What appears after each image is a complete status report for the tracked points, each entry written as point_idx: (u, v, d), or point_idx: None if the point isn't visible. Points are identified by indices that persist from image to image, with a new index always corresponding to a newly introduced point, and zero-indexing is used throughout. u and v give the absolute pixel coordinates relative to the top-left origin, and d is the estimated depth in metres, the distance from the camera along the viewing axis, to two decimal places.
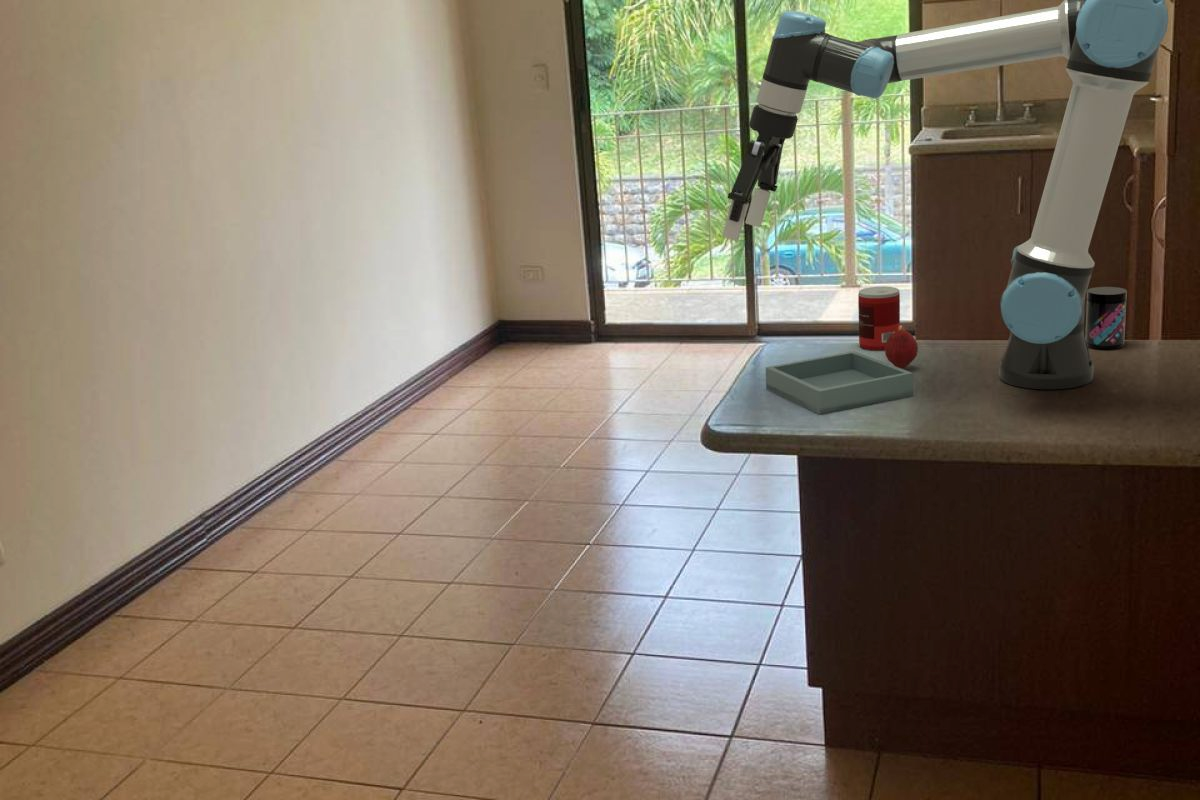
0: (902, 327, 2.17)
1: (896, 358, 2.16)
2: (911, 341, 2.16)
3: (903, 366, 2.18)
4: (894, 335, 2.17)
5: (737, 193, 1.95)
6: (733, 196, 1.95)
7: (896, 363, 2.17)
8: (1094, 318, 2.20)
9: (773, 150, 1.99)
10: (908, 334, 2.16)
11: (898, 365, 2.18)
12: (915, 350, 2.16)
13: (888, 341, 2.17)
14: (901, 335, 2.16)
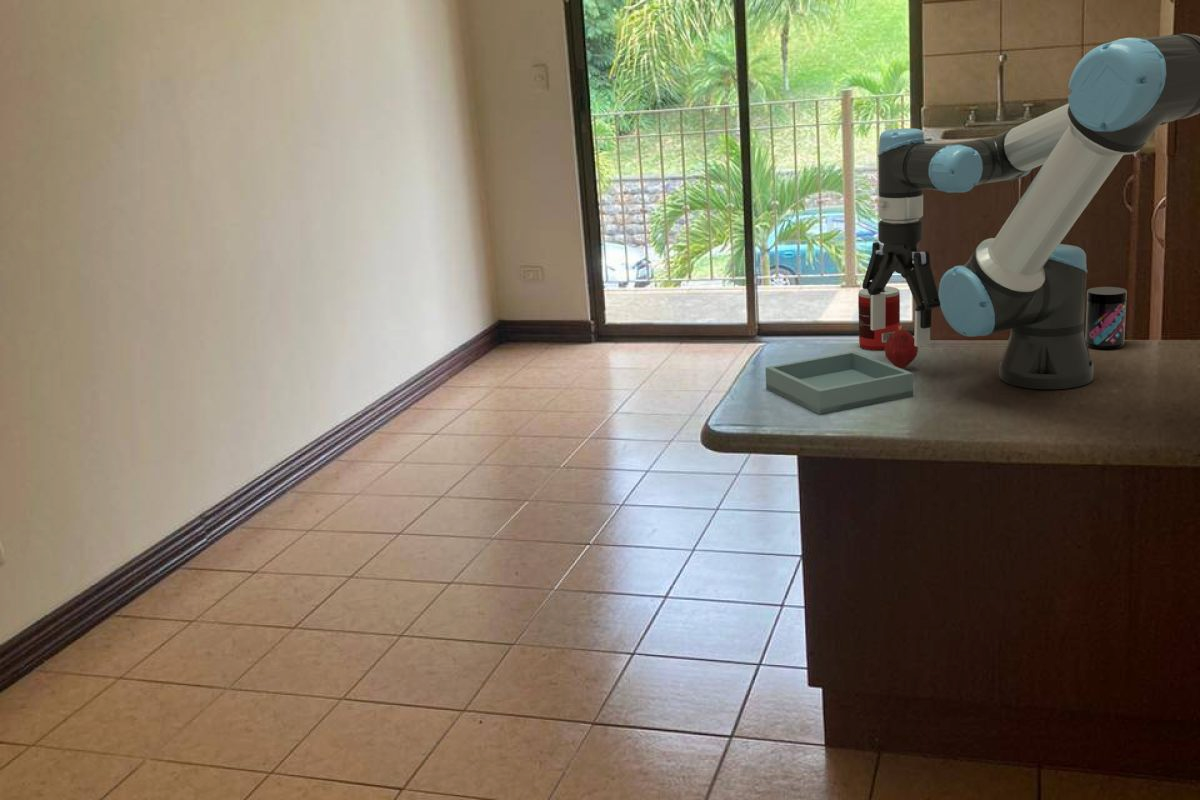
0: (902, 327, 2.17)
1: (896, 358, 2.16)
2: (911, 340, 2.16)
3: (903, 366, 2.18)
4: (894, 335, 2.17)
5: (932, 302, 2.07)
6: (931, 306, 2.06)
7: (896, 363, 2.17)
8: (1094, 318, 2.20)
9: None
10: (908, 334, 2.16)
11: (898, 365, 2.18)
12: (915, 350, 2.16)
13: (888, 341, 2.17)
14: (901, 335, 2.16)
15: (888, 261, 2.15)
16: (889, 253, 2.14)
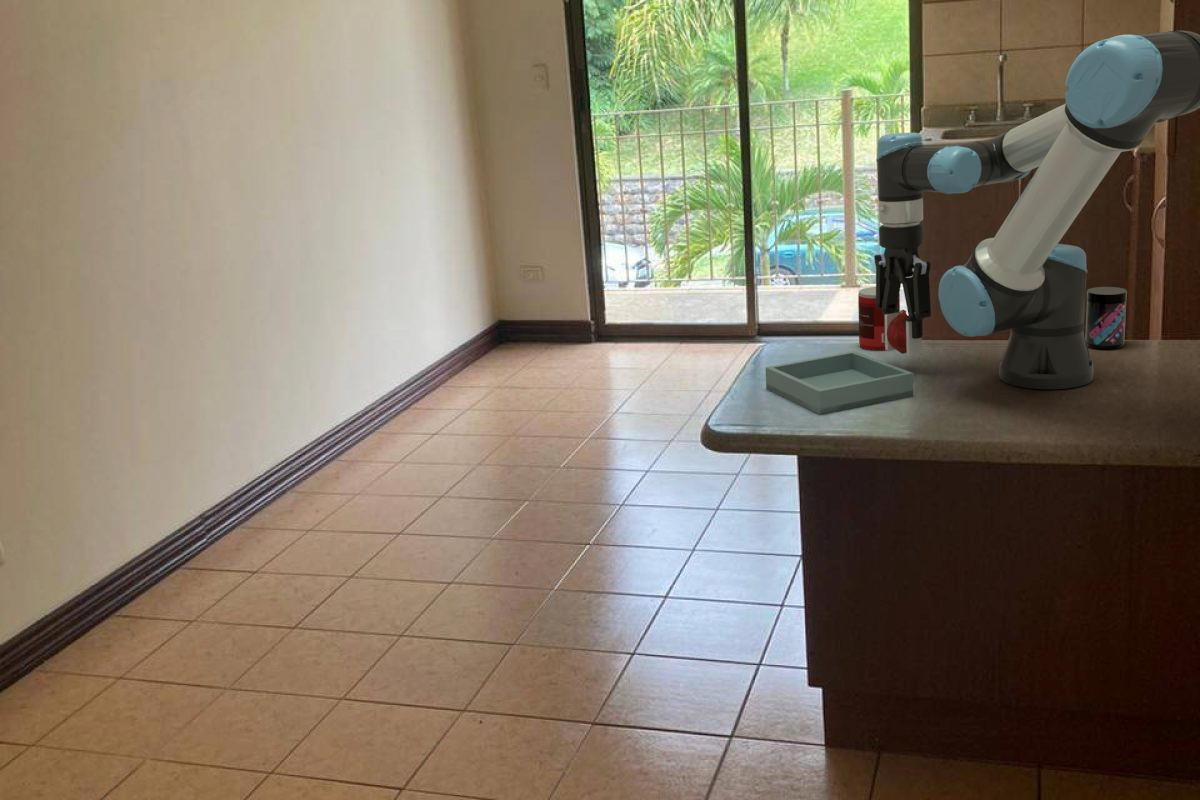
0: (904, 311, 2.16)
1: (898, 343, 2.15)
2: None
3: (905, 351, 2.17)
4: (896, 319, 2.16)
5: (923, 312, 2.10)
6: (922, 316, 2.10)
7: (898, 347, 2.16)
8: (1094, 318, 2.20)
9: None
10: None
11: (900, 350, 2.16)
12: None
13: (890, 325, 2.16)
14: (903, 319, 2.15)
15: (891, 266, 2.14)
16: (890, 257, 2.14)
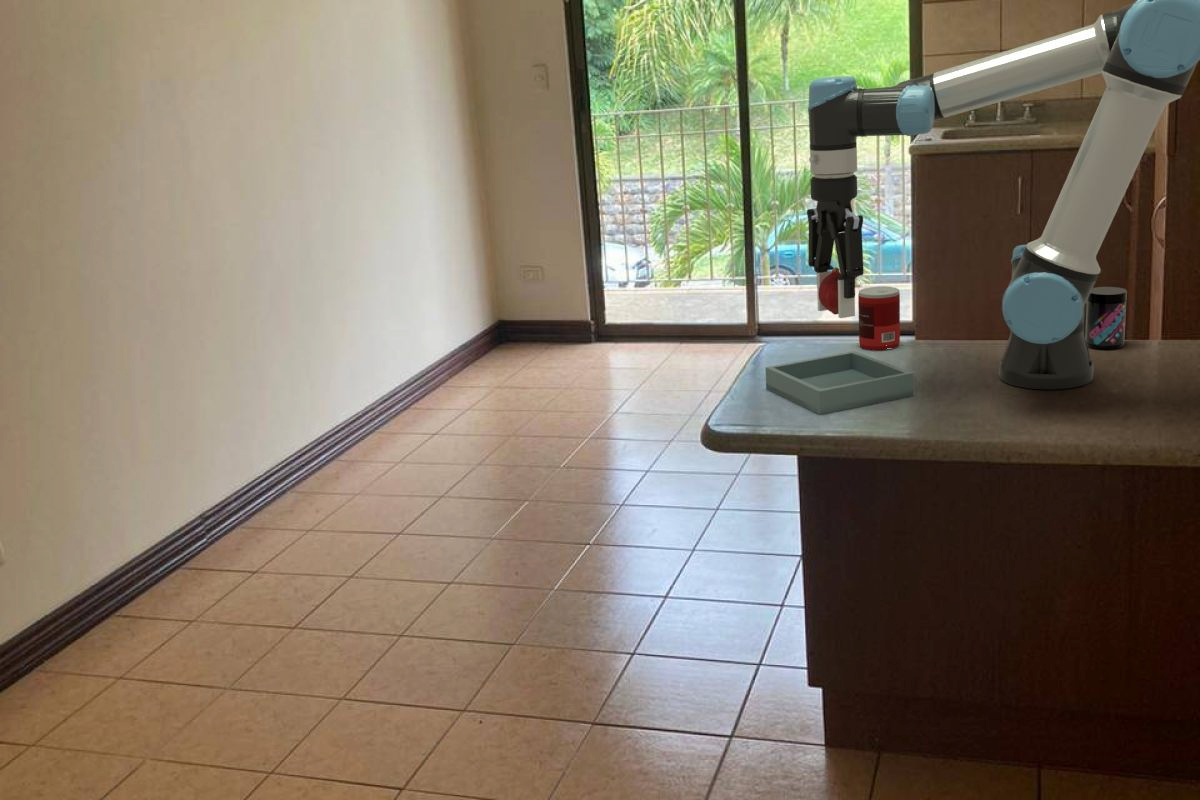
0: (836, 269, 2.02)
1: (829, 303, 2.01)
2: None
3: None
4: (828, 277, 2.02)
5: (855, 270, 1.96)
6: (853, 274, 1.96)
7: (830, 308, 2.02)
8: (1094, 318, 2.20)
9: None
10: None
11: (832, 310, 2.03)
12: None
13: (821, 284, 2.02)
14: (835, 277, 2.01)
15: (823, 220, 2.00)
16: (822, 211, 2.00)
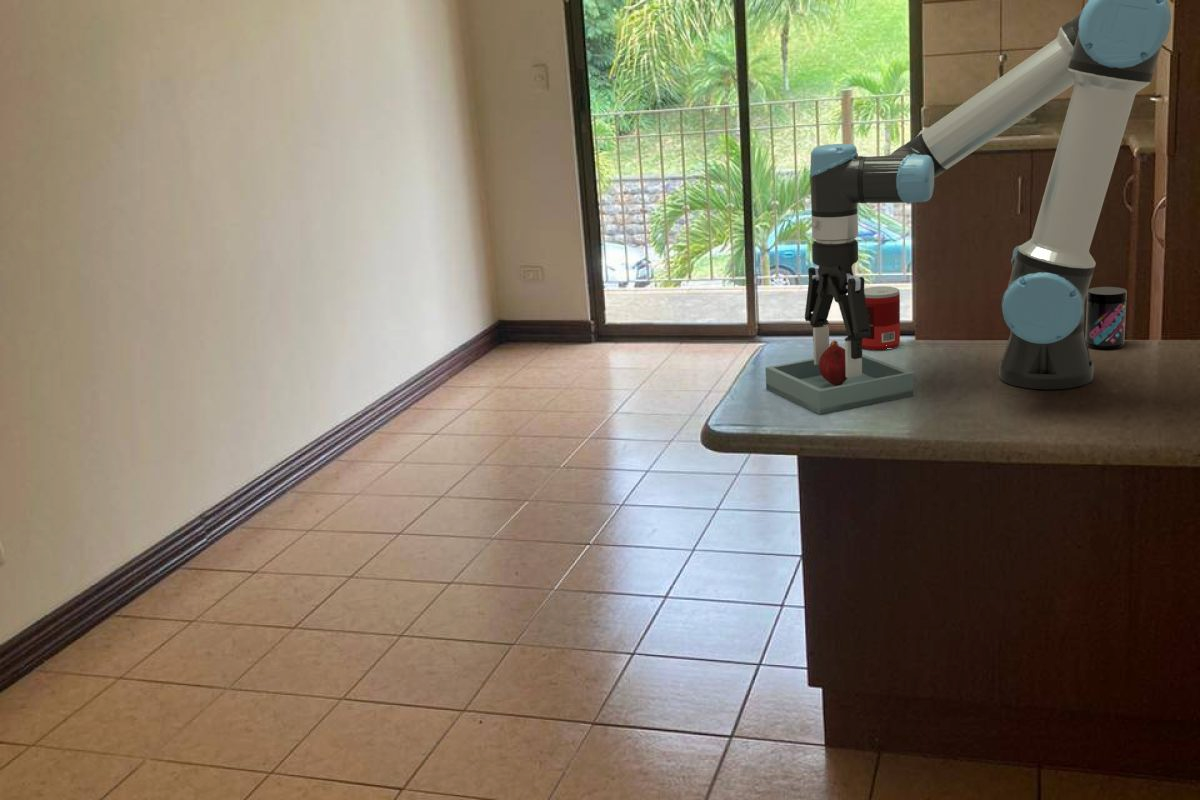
0: (835, 342, 2.06)
1: (830, 375, 2.05)
2: None
3: (839, 383, 2.07)
4: (827, 351, 2.06)
5: (862, 331, 1.97)
6: (861, 336, 1.97)
7: (831, 380, 2.06)
8: (1094, 318, 2.20)
9: None
10: (841, 349, 2.06)
11: (834, 382, 2.07)
12: None
13: (821, 358, 2.06)
14: (834, 350, 2.05)
15: (824, 284, 2.03)
16: (824, 275, 2.03)
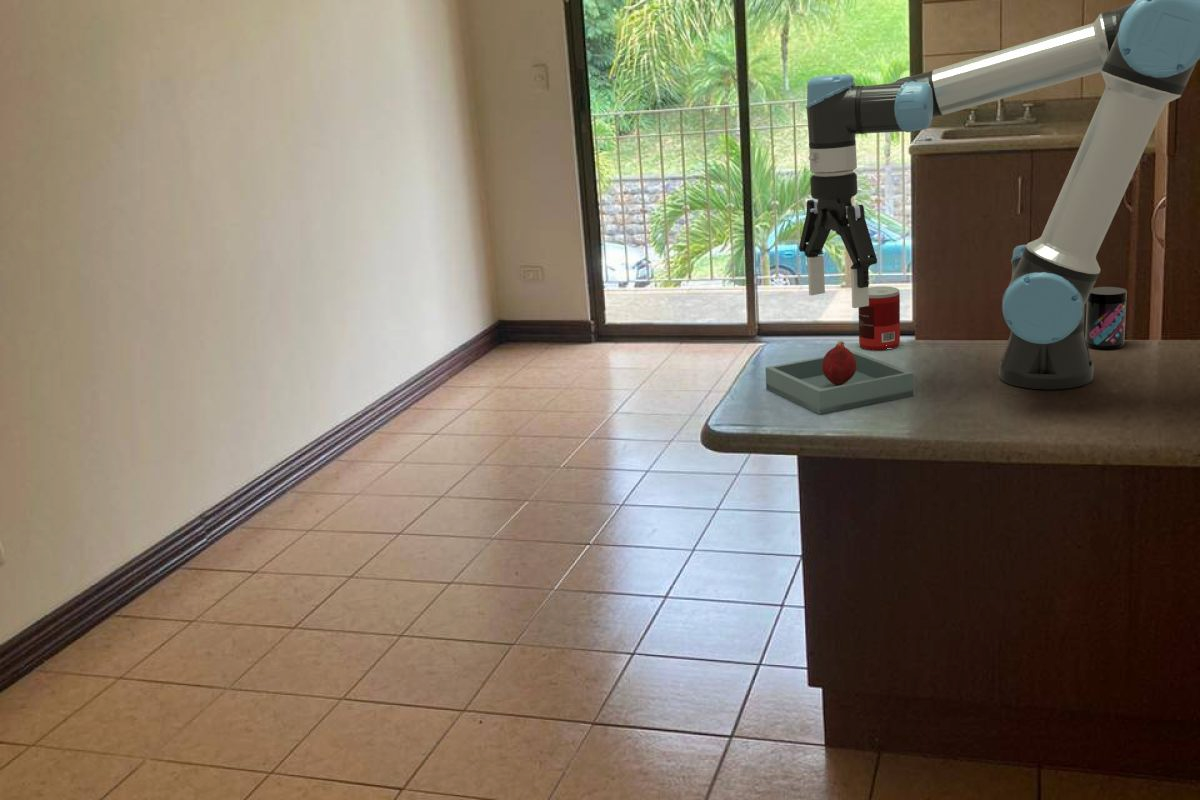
0: (841, 343, 2.05)
1: (832, 376, 2.05)
2: (850, 358, 2.04)
3: (840, 384, 2.07)
4: (833, 351, 2.05)
5: (868, 258, 1.92)
6: (867, 263, 1.92)
7: (832, 380, 2.06)
8: (1094, 318, 2.20)
9: None
10: (847, 351, 2.05)
11: (835, 383, 2.06)
12: (853, 368, 2.05)
13: (826, 357, 2.06)
14: (840, 351, 2.05)
15: (822, 218, 2.00)
16: (823, 210, 1.99)
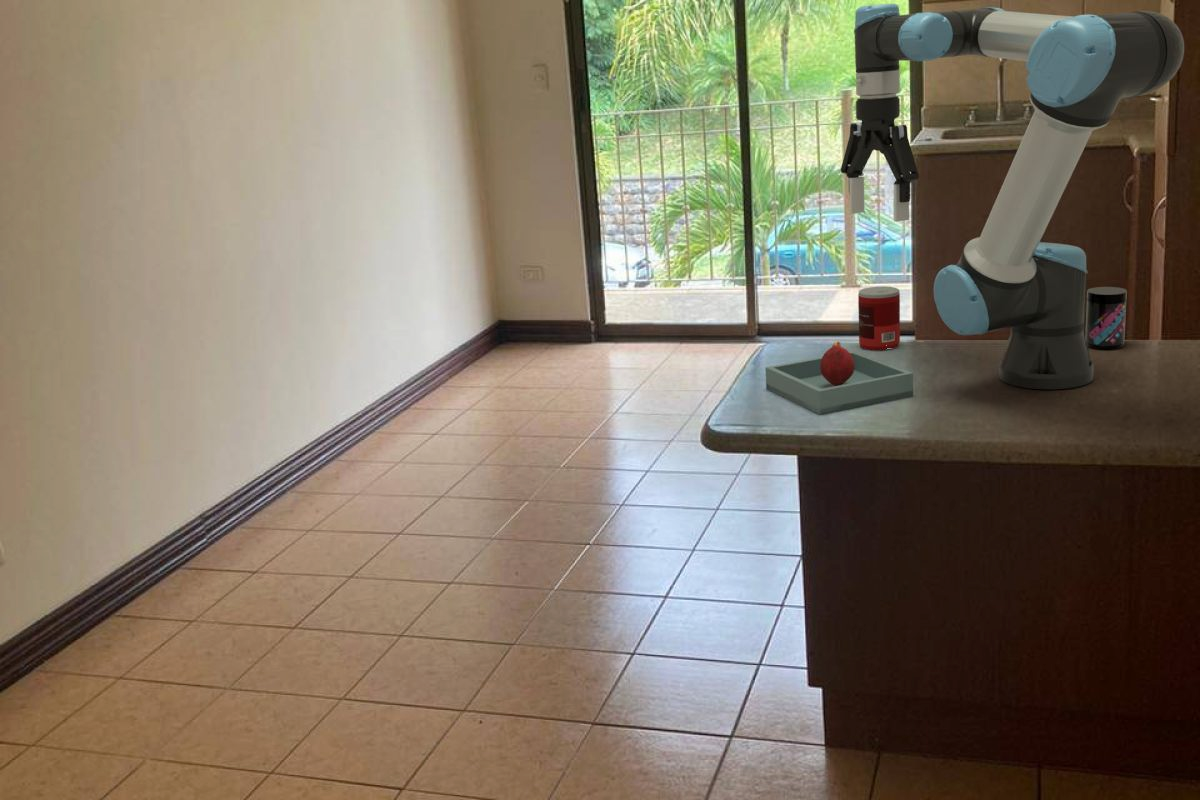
0: (837, 343, 2.06)
1: (831, 376, 2.05)
2: (847, 357, 2.05)
3: (839, 384, 2.07)
4: (829, 351, 2.06)
5: (911, 174, 2.08)
6: (910, 178, 2.08)
7: (832, 381, 2.06)
8: (1094, 318, 2.20)
9: None
10: (844, 350, 2.05)
11: (834, 383, 2.07)
12: (851, 367, 2.05)
13: (823, 358, 2.06)
14: (837, 351, 2.05)
15: (866, 139, 2.16)
16: (867, 131, 2.15)
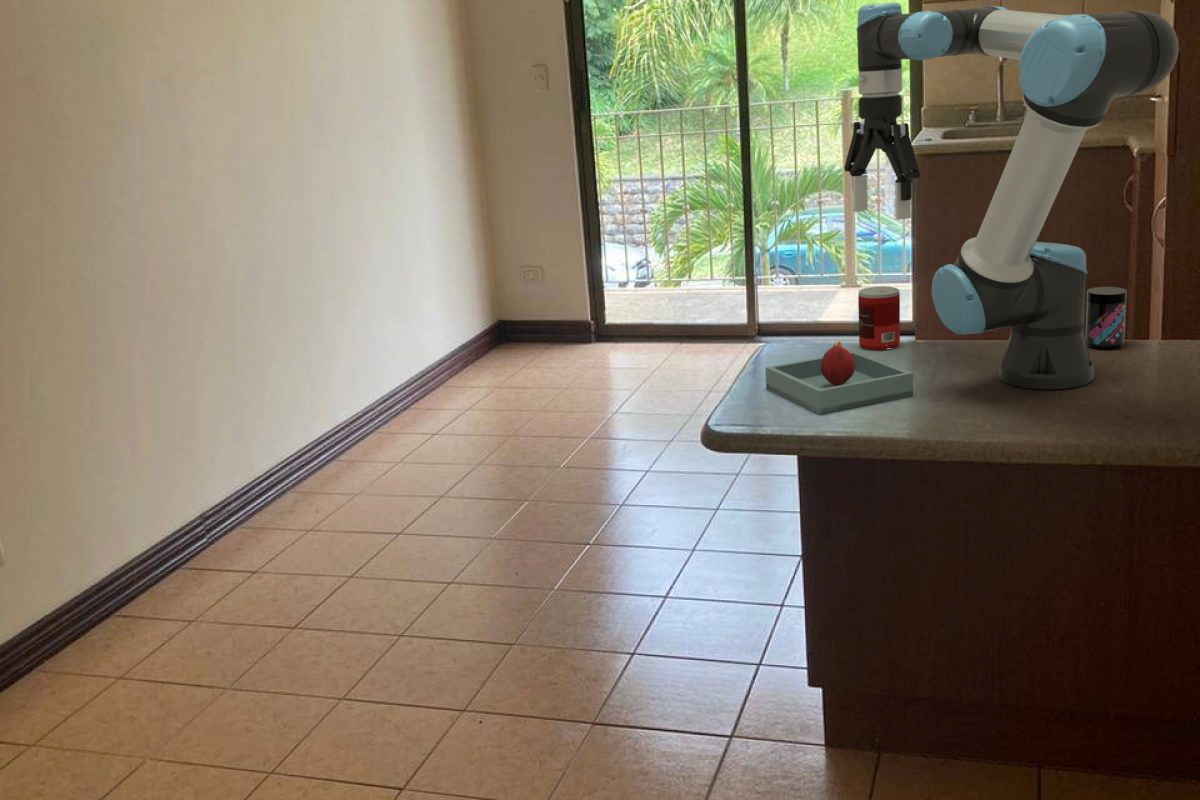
0: (838, 343, 2.06)
1: (831, 376, 2.05)
2: (847, 357, 2.05)
3: (839, 384, 2.07)
4: (830, 351, 2.06)
5: (912, 172, 2.09)
6: (911, 176, 2.09)
7: (832, 381, 2.06)
8: (1094, 318, 2.20)
9: None
10: (844, 350, 2.05)
11: (834, 383, 2.07)
12: (852, 367, 2.05)
13: (823, 358, 2.06)
14: (837, 351, 2.05)
15: (869, 138, 2.17)
16: (870, 130, 2.16)
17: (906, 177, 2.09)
